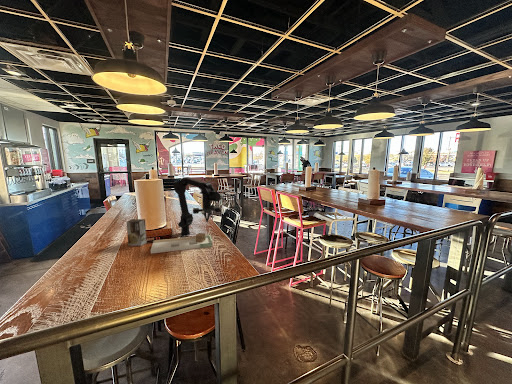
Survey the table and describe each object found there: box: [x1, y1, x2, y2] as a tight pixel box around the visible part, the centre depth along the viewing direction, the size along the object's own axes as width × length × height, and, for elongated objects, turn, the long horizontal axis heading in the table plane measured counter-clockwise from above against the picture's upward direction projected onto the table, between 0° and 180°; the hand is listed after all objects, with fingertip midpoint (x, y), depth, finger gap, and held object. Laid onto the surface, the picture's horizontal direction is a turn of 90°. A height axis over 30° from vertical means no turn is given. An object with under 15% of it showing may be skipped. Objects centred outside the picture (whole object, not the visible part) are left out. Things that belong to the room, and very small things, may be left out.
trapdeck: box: [150, 234, 213, 255], centre depth 135 cm, size 12×36×4 cm, turn 109°
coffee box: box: [126, 218, 148, 247], centre depth 137 cm, size 9×6×16 cm
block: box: [195, 232, 206, 242], centre depth 138 cm, size 4×4×4 cm
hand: (207, 221), depth 148 cm, fingers closed
